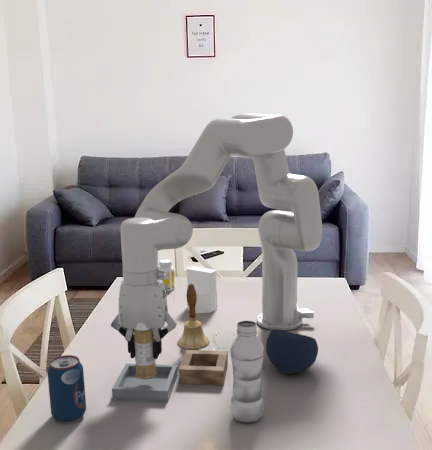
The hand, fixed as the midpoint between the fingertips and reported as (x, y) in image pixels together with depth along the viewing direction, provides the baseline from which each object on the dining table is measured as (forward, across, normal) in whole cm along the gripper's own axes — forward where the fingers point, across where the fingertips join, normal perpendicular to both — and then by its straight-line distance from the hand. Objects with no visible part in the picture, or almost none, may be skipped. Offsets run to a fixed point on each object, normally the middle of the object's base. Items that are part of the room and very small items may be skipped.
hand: (145, 355), depth 131 cm
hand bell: (+8, -7, -24) cm, 26 cm away
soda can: (+8, +13, +13) cm, 20 cm away
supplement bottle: (+8, +8, -65) cm, 66 cm away
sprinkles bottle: (+5, 0, 0) cm, 5 cm away
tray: (+8, 0, 0) cm, 8 cm away
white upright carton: (+8, -6, -49) cm, 50 cm away
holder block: (+8, -12, -7) cm, 16 cm away
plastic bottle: (+8, -23, +11) cm, 27 cm away
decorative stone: (+8, -32, -10) cm, 34 cm away
